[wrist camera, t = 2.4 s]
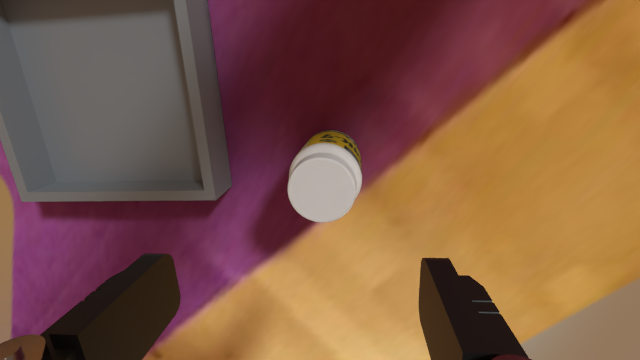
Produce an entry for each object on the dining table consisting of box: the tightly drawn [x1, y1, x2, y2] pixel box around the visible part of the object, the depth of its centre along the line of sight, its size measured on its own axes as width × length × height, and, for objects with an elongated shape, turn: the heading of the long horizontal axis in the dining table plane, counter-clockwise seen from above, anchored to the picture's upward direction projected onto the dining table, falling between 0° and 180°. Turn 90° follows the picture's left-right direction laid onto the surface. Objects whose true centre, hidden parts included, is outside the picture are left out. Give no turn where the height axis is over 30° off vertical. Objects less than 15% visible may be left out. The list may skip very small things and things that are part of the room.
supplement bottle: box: [288, 130, 362, 223], centre depth 22 cm, size 5×5×8 cm
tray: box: [0, 0, 232, 202], centre depth 25 cm, size 17×17×4 cm
